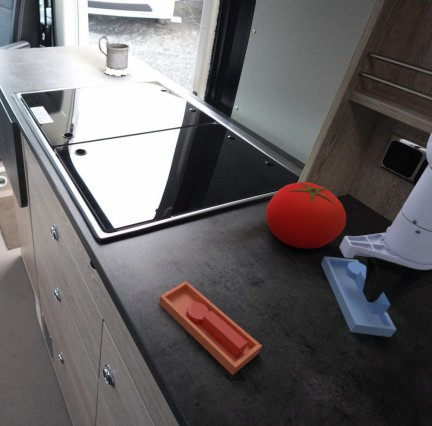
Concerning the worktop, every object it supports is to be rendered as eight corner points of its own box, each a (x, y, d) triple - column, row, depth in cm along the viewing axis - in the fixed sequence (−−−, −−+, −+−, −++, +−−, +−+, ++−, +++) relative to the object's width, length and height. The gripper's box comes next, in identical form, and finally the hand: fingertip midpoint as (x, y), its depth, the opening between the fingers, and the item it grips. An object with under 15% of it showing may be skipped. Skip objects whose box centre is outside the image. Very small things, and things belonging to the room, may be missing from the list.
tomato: (276, 210, 74) (293, 163, 67) (341, 240, 67) (366, 191, 61) (248, 235, 67) (263, 186, 61) (316, 271, 61) (341, 220, 54)
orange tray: (258, 353, 48) (262, 345, 47) (232, 375, 46) (235, 367, 45) (184, 288, 57) (186, 280, 56) (158, 303, 54) (160, 296, 53)
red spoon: (247, 349, 48) (251, 339, 47) (232, 361, 47) (236, 351, 45) (196, 304, 54) (198, 293, 53) (181, 313, 52) (183, 303, 51)
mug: (134, 72, 144) (136, 39, 137) (117, 78, 139) (119, 43, 131) (107, 65, 152) (107, 32, 145) (90, 69, 146) (89, 36, 139)
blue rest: (390, 337, 51) (396, 329, 50) (350, 332, 51) (355, 324, 50) (353, 267, 62) (357, 259, 60) (320, 263, 62) (324, 256, 61)
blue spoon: (388, 316, 50) (396, 305, 49) (365, 313, 50) (372, 302, 49) (362, 268, 57) (368, 258, 56) (341, 266, 57) (347, 255, 56)
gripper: (476, 205, 45) (418, 282, 53) (350, 193, 46) (312, 270, 55) (519, 243, 39) (446, 323, 48) (374, 228, 41) (327, 308, 49)
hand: (376, 297), depth 51 cm, fingers closed on blue spoon, 1 cm apart
